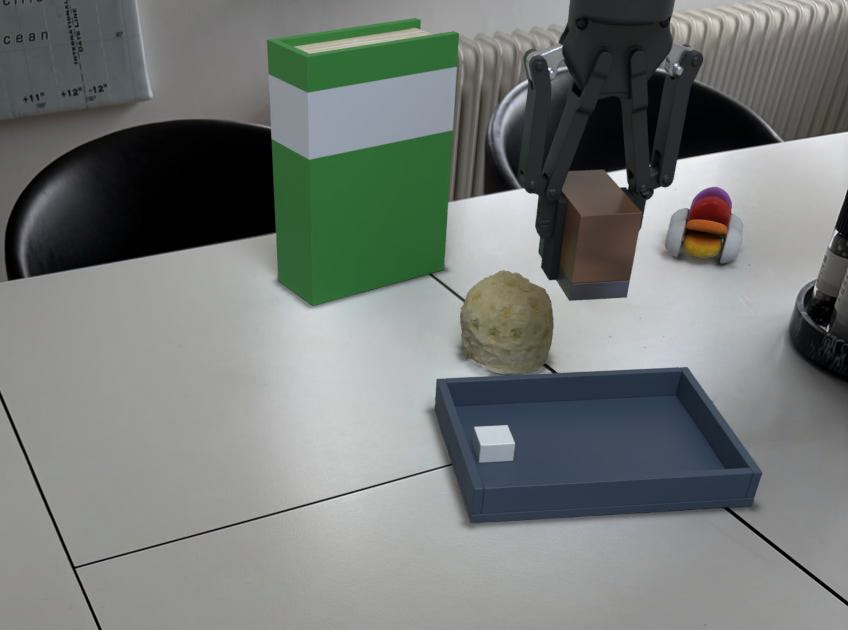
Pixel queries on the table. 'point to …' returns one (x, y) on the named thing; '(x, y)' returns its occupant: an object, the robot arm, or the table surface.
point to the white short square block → (493, 443)
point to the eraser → (596, 237)
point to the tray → (594, 445)
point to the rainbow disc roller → (706, 227)
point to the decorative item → (507, 324)
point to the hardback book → (361, 155)
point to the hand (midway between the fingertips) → (581, 271)
